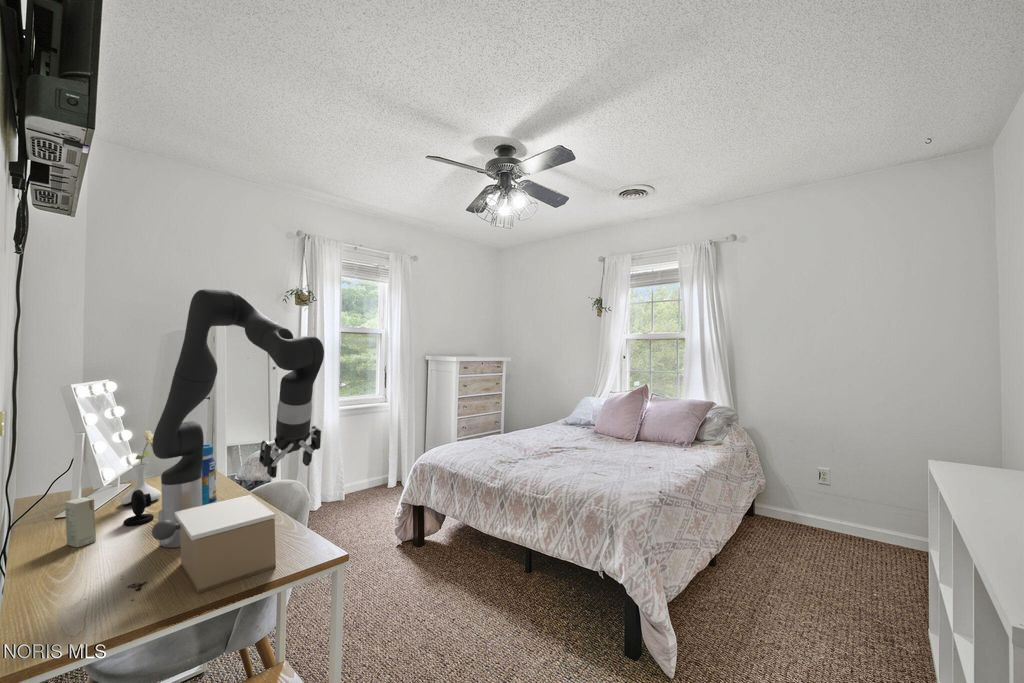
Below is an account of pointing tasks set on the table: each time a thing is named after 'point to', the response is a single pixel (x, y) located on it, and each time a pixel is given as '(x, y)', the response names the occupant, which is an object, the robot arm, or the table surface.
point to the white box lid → (214, 518)
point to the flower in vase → (142, 474)
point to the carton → (228, 555)
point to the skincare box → (80, 522)
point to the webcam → (138, 509)
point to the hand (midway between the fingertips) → (289, 469)
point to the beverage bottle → (208, 476)
